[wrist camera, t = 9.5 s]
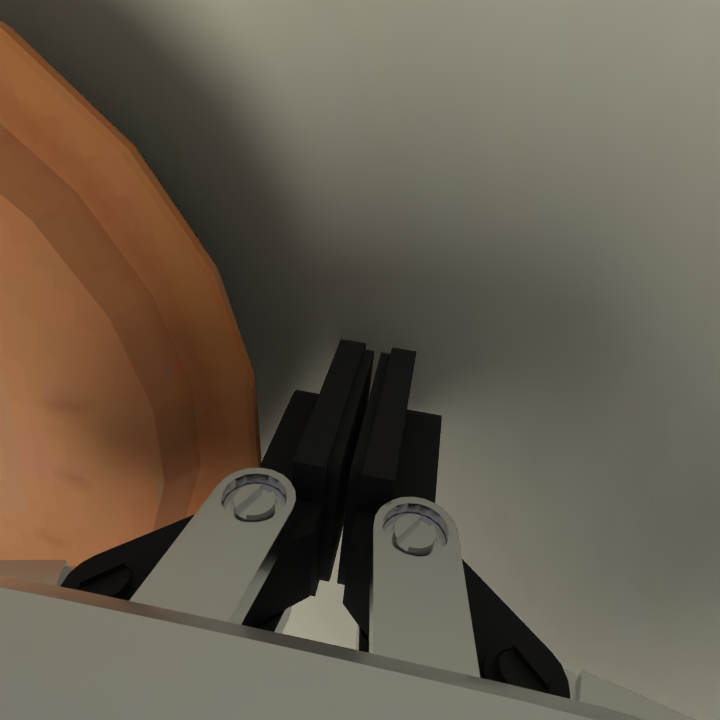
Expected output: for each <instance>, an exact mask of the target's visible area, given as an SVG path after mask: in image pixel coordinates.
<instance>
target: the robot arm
mask: <svg viewBox="0 0 720 720" xmlns="http://www.w3.org/2000/svg"><path fill="white" fill-rule="evenodd" d="M415 357H416V351H410V350H404V349H398V348H392V350H391V354H388V353H382V352H381V355H380V359H379V363H378V367H377V370H376V374H375V378H374V382H373V385H372V389H371V393H370V397H369V391H370V383H371V375H372V367H373V359H374V351H370V350H366V343H362V342H356V341H350V340H344V339H341V341H340V343H339V345H338V348H337V350H336V353H335V355H334V358H333V361H332V363H331V366H330V368H329V371H328V373H327V376H326V378H325V381H324V383H323V386H322V388H321V391H320V393H319V394H316V393H311V392H305V391H300V390H296V391H295V392H294V394H293V395H292V398H291V400H290V402H289V404H288V406H287V408H286V411H285V413H284V415H283V417H282V419H281V421H280V424H279V426H278V428H277V430H276V432H275V435H274V437H273V439H272V441H271V443H270V445H269V448H268V450H267V452H266V454H265V456H264V458H263V461H262V463H261V465H260V467H259V468H247V469H243V470H239V471H236V472H234V473H232V474H230V475H229V476H227V477H225V478H224V479H223V480H222V481H221V482H220V483H219V484H218V485H217V486H216V488H215V489H214V490H213V492H212V493H211V494H210V495H209V497H208V498H207V499H206V501H205V502H204V503H203V505H202V506H201V507H200V509H199V510H198V511H197V512H196V514H194V515H192V516H189V517H187V518H184V519H182V520H179V521H177V522H175V523H172V524H170V525H167V526H165V527H162V528H160V529H158V530H155V531H153V532H150V533H148V534H145V535H143V536H141V537H138V538H136V539H133V540H131V541H128V542H126V543H124V544H121V545H119V546H116V547H114V548H111V549H109V550H107V551H104V552H102V553H99V554H97V555H95V556H93V557H91V558H89V559H87V560H85V561H83V562H82V563H80V564H79V565H78V566H68V563H67V560H0V720H696V719H693V718H691V717H689V716H686V715H684V714H682V713H679V712H677V711H675V710H673V709H670V708H668V707H666V706H663V705H661V704H659V703H657V702H654V701H652V700H650V699H647V698H645V697H643V696H641V695H638V694H636V693H634V692H631V691H629V690H627V689H625V688H622V687H620V686H618V685H615V684H613V683H611V682H608V681H606V680H604V679H602V678H599V677H597V676H595V675H592V674H590V673H588V672H586V671H583V670H582V672H581V674H580V675H579V676H578V675H576V674H574V673H571V672H569V671H567V670H565V669H563V667H562V665H561V664H560V663H559V661H558V660H557V659H556V657H555V656H554V655H553V653H552V652H551V651H550V650H549V649H548V648H547V647H546V646H545V645H544V644H543V643H542V642H541V641H540V640H539V638H538V637H537V636H536V635H535V634H534V633H533V632H532V631H531V630H530V629H529V628H528V627H527V626H526V625H525V624H524V623H523V622H522V621H521V620H520V619H519V618H518V617H517V616H516V615H515V614H514V612H513V611H512V610H511V609H510V608H509V607H508V606H507V605H506V604H505V603H504V602H503V601H502V600H501V599H500V598H499V597H498V596H497V595H496V594H495V593H494V592H493V591H492V590H491V589H490V588H489V586H488V585H487V584H486V583H485V582H484V581H483V580H482V579H481V578H480V577H479V576H478V575H477V574H476V573H475V572H474V571H473V570H472V569H471V568H470V567H469V566H468V565H467V564H466V563H465V561H464V560H463V559H462V556H461V550H460V543H459V537H458V531H457V528H456V525H455V522H454V521H453V519H452V518H451V517H450V515H449V514H448V513H447V512H446V511H445V510H444V509H443V508H441V507H440V506H439V505H437V504H435V496H436V483H437V471H438V458H439V445H440V433H441V419H442V417H441V415H435V414H429V413H424V412H418V411H412V410H407V405H408V399H409V393H410V387H411V381H412V375H413V369H414V363H415ZM368 399H369V401H368ZM343 525H344V526H343ZM342 529H343V535H342V544H341V553H340V562H339V571H338V581H337V583H338V584H343V585H345V589H344V597H343V604H344V606H345V607H346V608H347V610H348V611H349V612H350V614H351V615H352V617H353V618H354V619H355V621H356V622H357V624H358V629H357V642H356V650H354V649H349V648H345V647H340V646H336V645H331V644H326V643H322V642H317V641H313V640H308V639H304V638H299V637H294V636H290V635H285V634H282V632H283V630H284V628H285V626H286V623H287V621H288V619H289V616H290V612H291V606H293V605H294V604H296V603H298V602H300V601H302V600H303V599H305V598H307V597H309V596H310V595H311V596H315V595H316V591H317V587H318V583H319V580H324V581H328V582H329V580H330V577H331V573H332V569H333V565H334V561H335V557H336V553H337V549H338V545H339V541H340V537H341V533H342Z"/></svg>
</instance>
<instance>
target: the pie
mask: <svg viewBox="0 0 720 720" xmlns="http://www.w3.org/2000/svg"><path fill="white" fill-rule="evenodd" d="M260 465H261V451H260V437H259V423H258V409H257V394H256V380H255V374H254V371H253V368H252V366H251V363H250V360H249V357H248V354H247V351H246V348H245V345H244V342H243V339H242V337H241V334H240V331H239V328H238V325H237V322H236V319H235V316H234V313H233V310H232V308H231V305H230V302H229V299H228V296H227V293H226V290H225V287H224V284H223V281H222V279H221V276H220V273H219V270H218V268H217V266H216V265H215V263H214V262H213V260H212V259H211V257H210V256H209V254H208V253H207V251H206V250H205V249H204V247H203V246H202V244H201V243H200V241H199V240H198V238H197V237H196V235H195V234H194V232H193V231H192V229H191V228H190V226H189V225H188V223H187V222H186V221H185V219H184V218H183V216H182V215H181V213H180V212H179V210H178V209H177V207H176V206H175V204H174V203H173V201H172V200H171V198H170V197H169V195H168V194H167V193H166V191H165V190H164V188H163V187H162V185H161V184H160V182H159V181H158V179H157V178H156V176H155V175H154V173H153V172H152V170H151V169H150V167H149V166H148V165H147V163H146V162H145V160H144V159H143V157H142V156H141V154H140V153H139V151H138V150H137V148H136V147H135V146H134V145H133V144H132V143H131V142H130V141H129V140H128V139H127V138H126V137H125V136H124V135H123V134H122V133H121V132H120V131H119V130H118V129H117V128H116V127H115V126H113V125H112V124H111V123H110V122H109V121H108V120H107V119H106V118H105V117H104V116H103V115H102V114H101V113H100V112H99V111H98V110H97V109H96V108H95V107H94V106H93V105H92V104H91V103H90V102H89V101H88V100H86V99H85V98H84V97H83V96H82V95H81V94H80V93H79V92H78V91H77V90H76V89H75V88H74V87H73V86H72V85H71V84H70V83H69V82H68V81H67V80H66V79H65V78H64V77H63V76H62V75H61V74H59V73H58V72H57V71H56V70H55V69H54V68H53V67H52V66H51V65H50V64H49V63H48V62H47V61H46V60H45V59H44V58H43V57H42V56H41V55H40V54H39V53H38V52H37V51H36V50H35V49H34V48H32V47H31V46H30V45H29V44H28V43H27V42H26V41H25V40H24V39H23V38H22V37H21V36H20V35H19V34H18V33H17V32H16V31H15V30H14V29H13V28H11V27H10V26H8V25H7V24H5V23H4V22H2V21H1V20H0V560H67V563H68V566H78V565H79V564H80V563H82V562H83V561H85V560H87V559H89V558H91V557H93V556H95V555H97V554H99V553H102V552H104V551H107V550H109V549H111V548H114V547H116V546H119V545H121V544H124V543H126V542H128V541H131V540H133V539H136V538H138V537H141V536H143V535H145V534H148V533H150V532H153V531H155V530H158V529H160V528H162V527H165V526H167V525H170V524H172V523H175V522H177V521H179V520H182V519H184V518H187V517H189V516H192V515H194V514H196V512H197V511H198V510H199V509H200V507H201V506H202V505H203V503H204V502H205V501H206V499H207V498H208V497H209V495H210V494H211V493H212V492H213V490H214V489H215V488H216V486H217V485H218V484H219V483H220V482H221V481H222V480H223V479H224V478H225V477H227V476H229V475H230V474H232V473H234V472H236V471H239V470H243V469H247V468H259V467H260Z"/></svg>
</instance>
